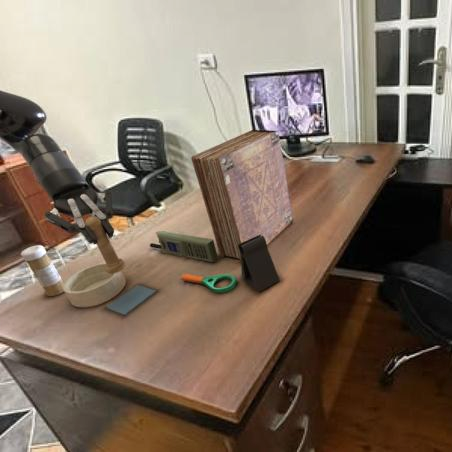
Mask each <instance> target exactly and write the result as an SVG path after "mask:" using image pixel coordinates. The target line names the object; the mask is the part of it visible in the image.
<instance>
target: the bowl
mask: <svg viewBox="0 0 452 452" xmlns="http://www.w3.org/2000/svg"><path fill="white" fill-rule="evenodd" d="M105 264H106V262H100V263H95V264H92V265H89V266H87V267H85V268H83V269H80V270H79V271H77V272H74V274H72V275H70V277H68V278H67V279H66V280H65V281H64V285H63V290H64V291H63V292H64V294H65V295H66V297H67V298H68V300H69V302H70V303H71V305H72V306H73V307H76V308H92V307H96V306H99V305H102V304H104V303H106V302H108V301H110V300H112V299H113V298H115V297H116V296H117V295H119V294H120V293H121V292H122V291H123V289H124V287H125V286H126V284H127V282H126V281H127V279H126V277H125V275H124V272H123V270H121V271H119V272H117V273H113V274H109V273H107V272H106V270H105V268H104V265H105Z"/></svg>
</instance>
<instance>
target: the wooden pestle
mask: <svg viewBox="0 0 452 452" xmlns="http://www.w3.org/2000/svg"><path fill="white" fill-rule="evenodd" d="M84 223H85V225H86V227H87V226H88V227H89V229H90V230H91V232H92V233H93V234H94V236H95V237H96V239H97V241H98V243H97V244H96V246H97V248H98V251H99V252H100V254H101V256H102V259H103V260H104V261H105V262H106V264H105V265H104V268H105V270H106V272H107V273H109V274H113V273H117V272H119V271H123V270H124V269H125V268H126V263H125V260H124V259H123V258H119V257H118V254H117V252H116V250H115V248H114V246H113V245H112V242H111V240H110V238H109V236H108V235H107V233H106V232H105V230H104V228H103V226H102V224H101V220H100V219H99V218H98V217H96V216H92V215H91V216H88V217H87V218H86V219H85V221H84ZM105 262H104V263H105Z"/></svg>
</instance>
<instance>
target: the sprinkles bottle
mask: <svg viewBox="0 0 452 452" xmlns="http://www.w3.org/2000/svg"><path fill="white" fill-rule="evenodd" d="M44 247H45V246H43V245H40V244H37V245H33V246H30V247H27V248H25V249H24V250H22V251H21V252H20V256H21V257H22V259H23V261H25V262H26V264H27V265H28V267H29V268H30V270H31V271H32V273H33V274H34V276H35V278H36V280H37V282H38V283H39V285H40V286H41V287H42V288H43V290H44V292H45V293H46V295H47V296H48V297H55V296H58V295H61V294H62V293H63V292H64V290H63V285H64V283H65V281H63V279H62V277H61V275H60V274H59V272H58V270H57V268H56V267H55V265H54V264H53V262H52V260H51V259H50V257H49V256H48V254H47V250H46V249H45V248H44Z"/></svg>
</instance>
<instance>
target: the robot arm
mask: <svg viewBox="0 0 452 452" xmlns="http://www.w3.org/2000/svg"><path fill="white" fill-rule="evenodd" d="M47 118H48V117H47V113H46V112H45V110H44V109H43V108H42V107H41V106H40V105H39V104H38V103H36V102H34V101H33V100H31V99H29V98H27V97H24V96H21V95H17V94H14V93H11V92H7V91H5V90H1V89H0V139H1V140H2V141H3V142H4V143H6V145H8V146H9V147H11V148H12V149H14V151H15V152H17V153H18V154H20V155H21V156H22V158H23V159H24V161H25V162H26V164H27V165H28V166H29V168H30V169H31V171H32V174H33V175H34V177H35V178H36V180H37V182H38V184H39V185H40V186H41V187H42V188H43V190H44V191H45V193H46V194H47V195H48V197H49V199H50V200H51V201H52V203H53V209H51V210H50V211H46V212H45V213H44V217H45V220H46V222H48V223H50V224H52V225H54V226H55V227H57V228H58V229H59V228H60V229H61V230H63V231H65V232H67V233H69V234H75V233H81V234H82V236H83V237H84V238H85V240H86V242H87V243H88V244H92V245H94V246H95V245H97V243H98V241H97V239H96V237H95V236H94V234H93V233H92V232H91V230H90V229H89V227H88V226H86V223H85V221H84V218H83V217H84V216H86V215H91V216H96V217H98V218H99V219H100V220H101V224H102V226H103V228H104V230H105V232H106V234H107V236H108V238H109V239H111V238H113V237H114V234H115V229H114V227H113V226H112V224H111V222H110V221H109V220H110V219H112V218H113V217H114V215H113V212H114V211H113V199H112V192H111V191H110V190H105V192H97V191H96V190H94V189H93V188H91V187H90V185H89V184H88V182H87V180H86V179H85V178H84V177H83V175H82V174H81V172H80V171H79V170H78V168H77V167H76V166H75V164H74V163H73V162H72V160H71V159H70V158H69V157H68V156H67V155H66V154H65V152H64V150H62V148H61V146H60V145H59V144H58V143H57V141H56V140H55V139H54V138H53V137H51V136H50V135H49V134H44V133H38V131H40V129H41V128H42V127H43V126H44V124H46V121H47ZM98 199H99V200H100V201H101V202H102V203H104V204H105V212H102V211H101V209H100V208H99V206H98V205H97V204H98ZM61 214H63V215H66V216H68V217H71V218H72V219H73V220H74V223H72V222H70V221H68V220H66V219H64V218H62V217H61Z"/></svg>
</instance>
